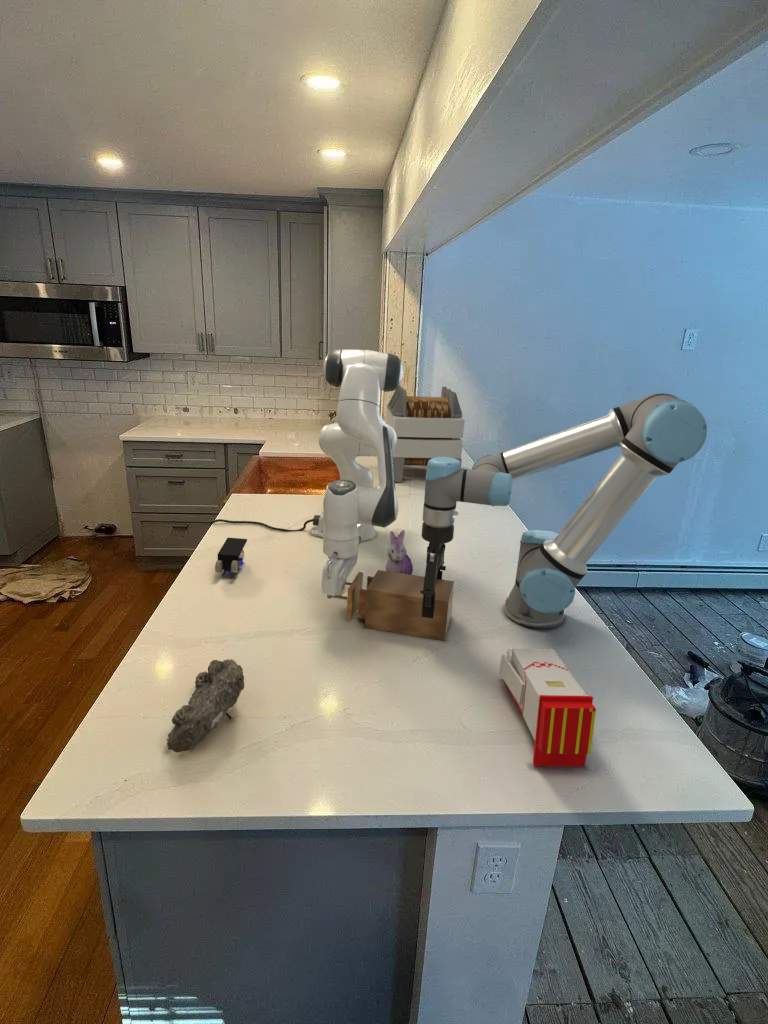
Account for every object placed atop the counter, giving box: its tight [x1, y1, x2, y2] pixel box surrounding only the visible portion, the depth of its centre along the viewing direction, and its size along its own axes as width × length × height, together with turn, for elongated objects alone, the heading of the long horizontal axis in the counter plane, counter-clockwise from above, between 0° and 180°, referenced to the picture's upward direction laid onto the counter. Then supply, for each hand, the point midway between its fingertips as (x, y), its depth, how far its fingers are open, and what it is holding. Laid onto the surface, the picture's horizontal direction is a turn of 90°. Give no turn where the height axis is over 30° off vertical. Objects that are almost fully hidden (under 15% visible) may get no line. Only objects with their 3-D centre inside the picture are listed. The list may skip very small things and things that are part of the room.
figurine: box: [385, 529, 414, 575], centre depth 164 cm, size 9×10×15 cm
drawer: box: [326, 571, 374, 621], centre depth 144 cm, size 24×10×8 cm, turn 77°
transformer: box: [385, 384, 465, 483], centre depth 268 cm, size 34×33×41 cm
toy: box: [499, 648, 597, 768], centre depth 111 cm, size 12×13×30 cm
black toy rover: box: [214, 537, 248, 578], centre depth 166 cm, size 7×8×15 cm
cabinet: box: [364, 569, 455, 642], centre depth 142 cm, size 20×11×11 cm, turn 77°
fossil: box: [166, 658, 245, 754], centre depth 106 cm, size 22×10×15 cm
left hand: (340, 595), depth 146 cm, fingers closed, pressing on drawer
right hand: (431, 604), depth 141 cm, fingers closed on cabinet, 11 cm apart
